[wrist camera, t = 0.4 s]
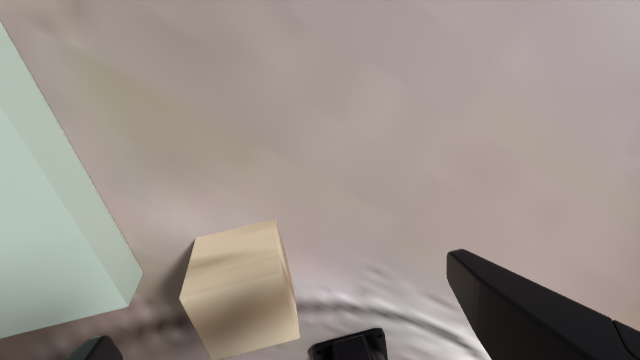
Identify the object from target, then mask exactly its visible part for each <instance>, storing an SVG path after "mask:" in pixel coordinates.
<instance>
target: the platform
mask: <svg viewBox="0 0 640 360" xmlns="http://www.w3.org/2000/svg"><path fill="white" fill-rule="evenodd" d="M142 275H143V271H142V270H141V268H140V266H139V264H138V263H137V261H136V259H135V257H134V256H133V254H132V252H131V250H130V248H129V247H128V245H127V243H126V241H125V240H124V238H123V236H122V234H121V233H120V231H119V229H118V227H117V226H116V224H115V222H114V220H113V219H112V217H111V215H110V213H109V212H108V210H107V208H106V206H105V205H104V203H103V201H102V199H101V197H100V196H99V194H98V192H97V190H96V189H95V187H94V185H93V183H92V182H91V180H90V178H89V176H88V175H87V173H86V171H85V169H84V168H83V166H82V164H81V162H80V161H79V159H78V157H77V155H76V154H75V152H74V150H73V148H72V146H71V145H70V143H69V141H68V139H67V138H66V136H65V134H64V132H63V131H62V129H61V127H60V125H59V124H58V122H57V120H56V118H55V117H54V115H53V113H52V111H51V110H50V108H49V106H48V104H47V103H46V101H45V99H44V97H43V95H42V94H41V92H40V90H39V88H38V87H37V85H36V83H35V81H34V80H33V78H32V76H31V74H30V73H29V71H28V69H27V67H26V66H25V64H24V62H23V60H22V59H21V57H20V55H19V53H18V52H17V50H16V48H15V46H14V44H13V43H12V41H11V39H10V37H9V36H8V34H7V32H6V30H5V29H4V27H3V25H2V23H1V22H0V339H1V338H5V337H9V336H13V335H17V334H21V333H25V332H29V331H33V330H37V329H41V328H45V327H49V326H53V325H57V324H61V323H65V322H69V321H73V320H77V319H81V318H85V317H89V316H93V315H97V314H101V313H105V312H109V311H113V310H117V309H121V308H125V307H128V306H129V304H130V302H131V300H132V297H133V295H134V293H135V291H136V288H137V286H138V284H139V282H140V279H141V277H142Z"/></svg>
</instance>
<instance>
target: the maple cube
mask: <svg viewBox="0 0 640 360" xmlns="http://www.w3.org/2000/svg"><path fill="white" fill-rule="evenodd" d="M179 299H180V301H181V303H182V305H183V307H184V309H185V311H186V312H187V314H188V316H189V318H190V320H191V322H192V324H193V326H194V328H195V330H196V331H197V333H198V335H199V337H200V339H201V341H202V343H203V345H204V347H205V349H206V350H207V352H208V354H209V356H210V358H211V360H220V359H224V358H228V357H232V356H235V355H239V354H243V353H247V352H250V351H254V350H258V349H261V348H265V347H269V346H273V345H276V344H280V343H284V342H288V341H291V340H295V339H299V338H300V334H299V326H298V318H297V311H296V303H295V296H294V288H293V280H292V275H291V272H290V268H289V265H288V261H287V258H286V254H285V251H284V247H283V244H282V240H281V237H280V233H279V230H278V226H277V223H276V219H273V220H269V221H265V222H261V223H257V224H252V225H248V226H244V227H240V228H236V229H232V230H227V231H223V232H219V233H215V234H211V235H206V236H202V237H198V238H196V240H195V243H194V247H193V250H192V254H191V258H190V261H189V265H188V269H187V272H186V276H185V280H184V283H183V287H182V291H181V294H180V298H179Z"/></svg>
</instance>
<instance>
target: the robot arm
mask: <svg viewBox="0 0 640 360" xmlns="http://www.w3.org/2000/svg"><path fill="white" fill-rule="evenodd" d="M447 279H448V282H449V285H450V286H451V288H452V290H453V292H454V294H455V296H456V298H457V300H458V302H459V304H460V306H461V308H462V310H463V311H464V313H465V315H466V317H467V319H468V321H469V323H470V325H471V327H472V329H473V331H474V332H475V334H476V336H477V337H478V339H479V341H480V342H481V344H482V345H483V347H484V348H485V350H486V351H487V353H488V354H489V356H490V358H491V359H492V360H640V331H637V330H635V329H633V328H631V327H629V326H627V325H625V324H623V323H620V322H618V321H616V320H613V321H612V319H611V318H609V317H607V316H605V315H603V314H601V313H599V312H597V311H595V310H592V309H590V308H588V307H586V306H584V305H582V304H580V303H578V302H575V301H573V300H571V299H569V298H567V297H565V296H563V295H561V294H558V293H556V292H554V291H552V290H550V289H548V288H546V287H543V286H541V285H539V284H537V283H535V282H533V281H531V280H529V279H526V278H524V277H522V276H520V275H518V274H516V273H514V272H512V271H509V270H507V269H505V268H503V267H501V266H499V265H497V264H494V263H492V262H490V261H488V260H486V259H484V258H482V257H480V256H477V255H475V254H473V253H471V252H469V251H467V250H464V249H458V250H454V251H450V252H448V254H447ZM312 350H313V355H314V358H315V360H388V358H387V349H386V341H385V334H384V331H383V329H381V328H377V329H373V330H370V331H366V332H362V333H359V334H355V335H351V336H347V337H344V338H340V339H336V340H332V341H329V342H325V343H321V344H317V345H315V346H314V347H313V349H312ZM66 360H123V357H122V354H121V353H120V351H119V349H118V348H117V346H116V345H115V343H114V342H113V340H112V339H111V337H110V336H108V335H101V336H97V337H92V338H90V339H88V340H87V341H85V342H84V343H83V344H82V345H81V346H80V347H79V348H78V349H77V350H76V351H75V352H74V353H72V354H71V355H70V356H69V357H68V358H67V359H66Z"/></svg>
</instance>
